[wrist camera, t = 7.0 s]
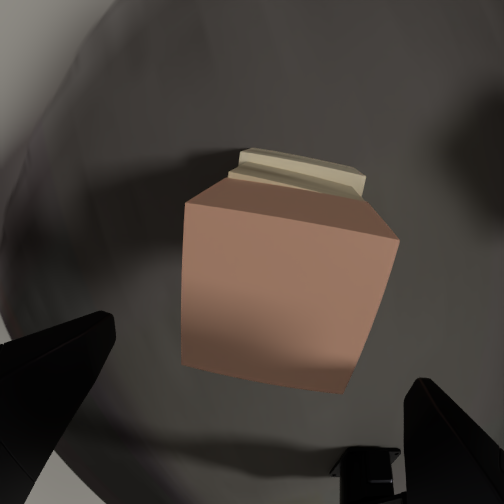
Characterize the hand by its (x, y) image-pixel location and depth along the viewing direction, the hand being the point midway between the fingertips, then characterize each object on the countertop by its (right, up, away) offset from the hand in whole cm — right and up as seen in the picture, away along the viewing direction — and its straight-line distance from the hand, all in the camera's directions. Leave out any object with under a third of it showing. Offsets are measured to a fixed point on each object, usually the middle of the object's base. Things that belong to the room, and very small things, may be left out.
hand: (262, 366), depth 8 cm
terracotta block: (+1, +3, +3) cm, 5 cm away
